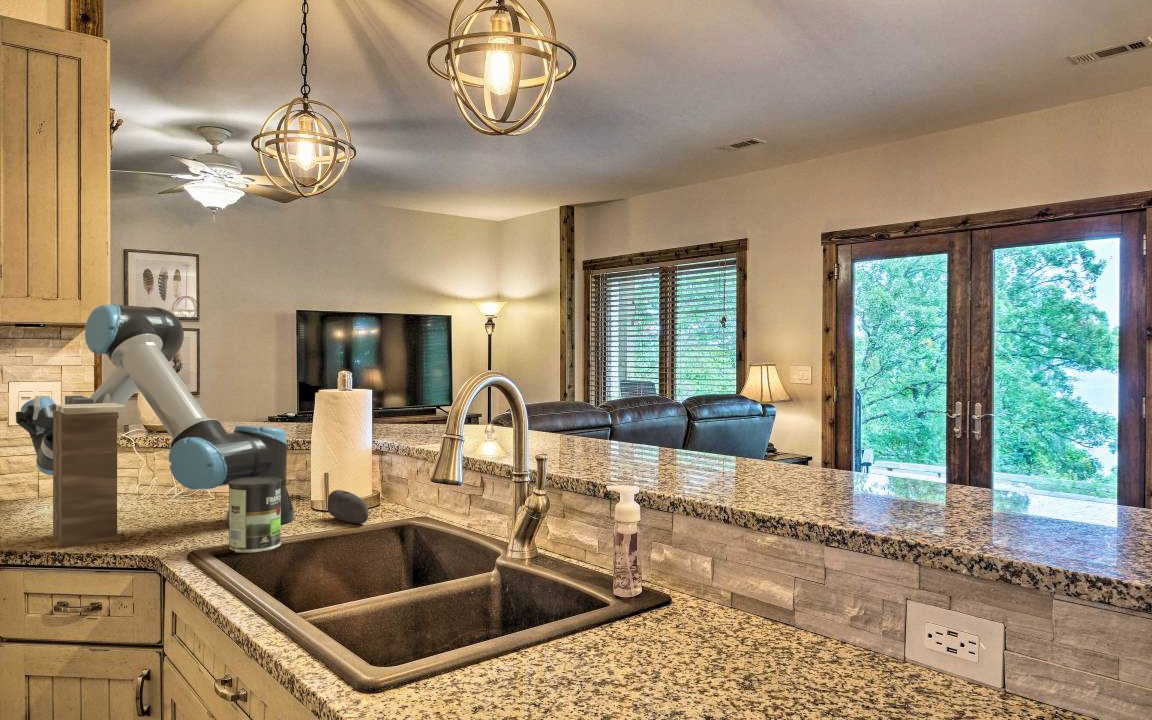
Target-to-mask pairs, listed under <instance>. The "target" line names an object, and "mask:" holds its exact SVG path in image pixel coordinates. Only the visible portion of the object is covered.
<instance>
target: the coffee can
mask: <svg viewBox="0 0 1152 720" xmlns="http://www.w3.org/2000/svg"><path fill="white" fill-rule="evenodd" d="M227 486H228V496H229V497H228V509H229V525H228V546H229V547H231V548H234V549H235V552H234V553H240V554H242V553H243V554H247V553H248V554H250V553H262V552H269V551H271V550H275V549H277V548H279V547H280V546H281V545H282V541H281V538H282V537H281V535H282V534H281V532H282V531H281V525H282V524H281V479H280V478H277V477H248V478H240V479H235V480H231V481H229V482H228V484H227ZM229 547H228V548H229Z"/></svg>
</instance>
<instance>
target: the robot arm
mask: <svg viewBox="0 0 1152 720" xmlns="http://www.w3.org/2000/svg"><path fill="white" fill-rule="evenodd" d="M184 336H185V332H184V327H183V324H182V323H181V321H180V319H179V318H178V317H177V316H176V315H175V314H174V313H172V312H171V311H169V310H167V309H166V308H165V309H164V308H161V307H157V306H137V305H124V304H117V303H116V304H115V303H113V304H102V305H99V306H97V307H95V308H94V309H93V310H92V311H91V312H90V314H89V315H88V318H87V320H86V323H85V329H84V340H85V343H86V346H87V349H89V351H90V352H92V353H93V354H97V355H106V356H107V357H108V359H109V360H110V362H111V363H112V364H113V366H114V367H115V369H114V370H113V371H112V372H111V373H110V374H109V375H108V377H107V378H105V380H104V381H103V382H102V383H101V384H100V385H99V386H98V388H97V389H96V390H95V391H94V392H93V393H92V394H91V395H90V397H89V398H91V399H94V403H116V404H120V405H124V406H125V404H126V402H128V401H129V399H130V398H131V397H132V396H133V395H134V394H135V393H136V392H137V391H138V390H139V392H140V393H141V394H142V397H144V399H145V400H146V403H148V405H149V406H150V408H151V409H152V411H153V412H154V414H155V416H157V418H158V420H159V421H160V422H161V424H162V425H163V427H164V428H165V430H166V431H167V433H168V434H169V436H170V437H171V439H172V440H171V442H170V445H169V449H170V450H169V454H168V462H169V463H170V465H169V469H170V472H171V475H172V476H173V477H174V479H175V480H176V481H177V482H178V483H179V484H180V485H181V486H182V487H185V488H187V489H189V490H190V489H191V490H211V489H215V488H217V487H221V486H226V485H227V486H228V482H229V481H231V480H235V479H240V478H248V477H277V478H280V479H281V525H284V524H286V523H290V522H291V521H293V520H294V518H295V509H294V507H293V503H292V500H291V496H290V494H289V492H288V488H287V470H288V469H287V461H288V460H287V456H288V455H287V454H288V443H287V433H286V431H285V429H283V428H282V427H272V426H258V425H257V426H255V425H236V426H234V430H233V432H228V431H226V428H225V427H224V426H223V425H222V423H221V421H219V420H218V419H215V418H209V417H208V416H207V415H206V412H205V411H204V410H203V409H202V407H201V406H200V404H199V403H198V402H197V400H196V398H195V397H194V396H193V394H192V393H191V391H190V390H189V389H188V387H187V385H186V384H185V383H184V382H183V380H182V379H181V378H180V375H179V374H178V372H177V371H176V370H175V368H174V367H173V366H172V364H171V361H172V360H173V359H174V358H175V356H176V355H177V354H178V353H179V351H180V350H181V348H182V346H183V342H184V339H185V337H184ZM56 405H57V404H56V402H55V401H54V400H53V399H52V397H47V396H40V395H35V396H34V398H33V399H32V398H31V399H30V400H28V401H25V403H24V404H22V406H21V408H20V411H16V412H15V422H16V424H17V425H18V426H20V427H21V428H22V429H24V430H25V431H26V432H27V433H28V434H29V437H30V439H31V443H32V446H33V449H34V452H35V454H36V461H35V462H36V467H37V468H38V470H39V471H40V472H41V473H43V474H45V475H47V476H53V410H56ZM119 414H120V412H117V421H118V420H119V419H120V417H119V416H120V415H119ZM225 520H226V521H225V522H226V525H227V526H229V508H228V509H227V512H226V519H225Z"/></svg>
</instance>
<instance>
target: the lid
mask: <svg viewBox="0 0 1152 720" xmlns="http://www.w3.org/2000/svg"><path fill="white" fill-rule="evenodd" d="M56 411H59V412H61V413H64V414H89V413H112V412H118V413H127V405H125V404H124V405H120V404H116V403H94V399H91V398H90V397H87V396H83V395H65V396H64V404H56Z"/></svg>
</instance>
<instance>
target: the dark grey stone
mask: <svg viewBox="0 0 1152 720" xmlns="http://www.w3.org/2000/svg"><path fill="white" fill-rule="evenodd" d="M326 505H327V506H326V507H327V511H328V513H329V515H330V516H332V517H334V518H335V520H336V519H337V520H339V521H341V522H345V523H349V522H350V524H353V523H363V524H364V523H366V522H367V521H368V519H369V516H370V514H369V512H370V511H369V508H368V506H367V503H366V502H365V501H364V500H363V499H362V498H361V497H359V496H358V495H356V494H355V493H352V492H350V491H345V490H342V489H337V490H333V491H332V492H330V493H329V495H328V498H327V504H326Z"/></svg>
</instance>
